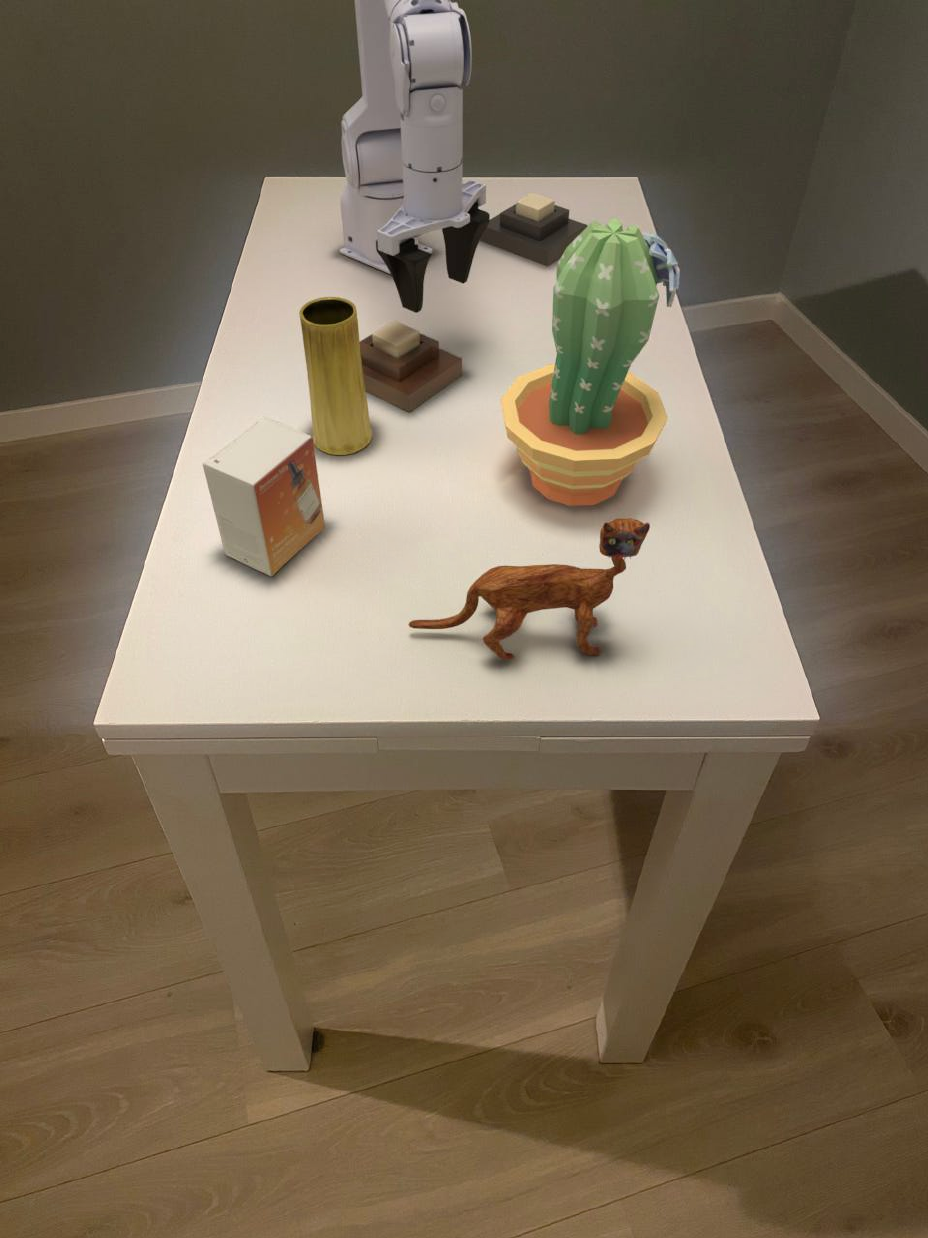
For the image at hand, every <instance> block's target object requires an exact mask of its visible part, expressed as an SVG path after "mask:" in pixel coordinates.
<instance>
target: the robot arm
mask: <svg viewBox="0 0 928 1238" xmlns="http://www.w3.org/2000/svg"><path fill="white" fill-rule="evenodd" d="M354 12H355V22H356V34H357V35H356V36H357V47H358V58H359V59H358V60H359V70H360V71H359V73H360V83H361V84H360V85H361V97H360V98H359V99H358V101H356V103H354V104H353V105H352V106H351V107H350V108H349V109H348V110H346V112H345V113H344V114H343V116H342V120H341V122H340V124H341V125H340V126H341V143H340V144H341V155H342V156H341V157H342V164H343V169H344V170H343V171H344V174H345V180H346V183H345V184H344V187H343V189H342V192H341V197H340V213H341V223H342V224H341V225H342V235H343V244H344V247H342V248H340V249H339V251H340V254H342V255H344V256H346V257H349V258H351V259H353V260H356V261H357V262H358V261H359V262H361V263H363V264H365V265H368V266H370V267H373V268H375V269H377V270H379V271H382V272H384V273H387V274H389V275H390V276H391V277H392V280H393V282H394V284H395V288H396V291H397V293H398V297H399V299H400V303H401V307H402V309H403V308H404V309H406V310H409V311H411V312H413V313H417V314H418V313H419V312H421V311H422V308H423V305H424V304H423V303H424V286H425V284H424V283H425V276H426V271H427V267H428V264H429V262H430V259H431V257H432V254H433V251H434V249H433V248H432V247H429V246H426V245H425V244H422V243H420V242H419V237H421V236H422V235H424V234H428V233H432V232H435V231H439V230H441V232H442V236H443V237H442V238H443V241H444V249H445V251H444V252H445V263H446V264H445V265H446V272H447V276H448V279H450V280H452V281H456V282H458V283H461V284H462V285H463V284H465V283H467V282H468V279H469V276H470V272H471V269H472V264H473V261H474V258H475V253H476V251H477V248H478V245H479V243H480V242H481V241H480V238H481V236H482V234H483V232H484V230H485V229H486V227H487V226H488V224H489V220H490V213H489V212H488V211H486V210H483V209H481V208H479V207H482V206H484V205H485V204H486V203H487V184H485V183H482V182H479V181H476V180H473V179H470V180H467V181H463V177H464V176H463V175H464V173H463V170H464V167H463V165H464V164H463V163H464V160H463V158H464V155H463V153H464V152H463V151H464V148H463V146H464V145H463V144H464V139H463V138H464V120H463V119H464V113H463V112H464V106H463V105H464V89H463V87H462V86H461V85H463V86H464V87H468V85H469V83H470V81H471V77H472V76H471V75H472V67H473V53H472V52H473V51H472V39H471V31H470V26H469V22H468V18H467V15H466V12H465V11H464V10H463V9H462V8H460V7H459V4H458V2H452V1H451V0H354Z"/></svg>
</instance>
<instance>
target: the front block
mask: <svg viewBox="0 0 928 1238" xmlns="http://www.w3.org/2000/svg"><path fill="white" fill-rule="evenodd" d="M385 326H386V325H385ZM385 326H383V327H385ZM372 334H373V333H371V334H370V335H368V336H366V337H365V338H363V339H361V340H359V343H360V353H361V360H362V368H363V375H364V381H365V389H366V393H368V394H370V395H372V396H375V398H376V397H377V398H379V399H380V400H382V401H384V402H386V403H388V404H390V405H392V406H393V407H394V406H395V407H396V408H398V409H401V410H402V411H404V412H406V413H408V414H409V413H412V412H413V411H414V410H415V409H417V408H418V407H420V406H421V405H423V404H424V403H425V402H427V401H428V400H429V399H431V398H433V397H434V396H435V395H437V394H439V392H441V391H442V390H444V389H445V388H447V387H448V386H450V385H451V384H452V383H454V382H455V381H457V380H458V379H460V378H461V377H462V376H463V357H460V356H458V355H456V354H454V353H452V352H449V351H447V350H445V349H442V348H440V342H439V341H438V340H436V339H434V338H432V337H429V336H428V335H425V334H423V333H421V332H420V345H419V346H417V347H416V348H414V349H413V350H411V351H410V352H408V353H406V354H405V355H403V356H402V357H400V358H399V359H397V358H395V357H393V356H391V355H389V354H387V353H384V352H382V351H380V350H378V349H376V348H374V347H373V337H372Z"/></svg>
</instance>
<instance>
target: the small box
mask: <svg viewBox="0 0 928 1238" xmlns="http://www.w3.org/2000/svg"><path fill="white" fill-rule="evenodd" d="M202 468H203V472H204V476H205V479H206V484H207V488H208V492H209V496H210V500H211V504H212V508H213V511H214V516H215V520H216V524H217V528H218V531H219V537H220V540H221V545H222V547H223V552H224V554H225V556H227V557H230V558H232V559H234V560H236V561H238V562H240V563H241V564H243V565H246V566H249V567H250V568H253V569H254V570H257V571H259V572H260V573H263V574H265V575H267V576H269V577H273V576H274V575H275V574H276V573H277V572H279V570H281V568H282V567H283V566H284V565H285V564H286V563H287V562H289V561H290V560H291V559H292V558H293V557H294V556H295V555H296V554H297V553H298V552H299V551H301V550H302V549H303V548H305V546H307V544H308V543H310V542H311V540H313V539H314V538H315V537H316V536H317V535H319V534H320V533H321V532H322V531H323V530H324V529H325V528H326V527H325V518H324V510H323V504H322V503H323V502H322V497H321V496H322V495H321V489H320V482H319V473H318V466H317V459H316V452H315V444H314V442H313V437H312V435H309V434H307V433H306V432H303V431H300V430H299V429H295V428H293V427H291V426H288V425H286V424H283V423H282V422H281V423H280V422H279V421H277V420H273V419H272V418H268V417H266V416H262V417H260V418H259V420H257V421H256V423H254V424H253V425H252V426H250V427H249V428H248V429H246V430H245V431H244V432H243V433H242V434H240V435H239V436H238V437H236V438H235V439H233V441H231V442H230V443H229V444H228V445H226V446H225V447H223V448H222V449H221V450H219V451H218V452H217V453H215V454H214V455H213V456H212V457H210V458H208V459H207V460H205V461H204V462H203V463H202Z"/></svg>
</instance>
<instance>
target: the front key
mask: <svg viewBox="0 0 928 1238" xmlns="http://www.w3.org/2000/svg"><path fill="white" fill-rule="evenodd" d="M420 333H421V332H420V330H418V329H415V328H413V327H411V326H408V325H406V324H404V323H401V322H400V321H397V320H395V319H394V320H392V321H391V322H390V323H388V324H386V325H385V327H384V326H383V327H382V328H379V329H378V330H376V331H375V332H373V333H371V334H372V337H373V347H374V348H376V349H378V350H380V351H382V352H384V353H387V354H389V355H391V356H393V357H395V358H397V359H399V358H400V357H402V356H403V355H405V354H406V353H408V352H410V351H411V350H413V349H414V348H416V347H417V346H419V345H420Z"/></svg>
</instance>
